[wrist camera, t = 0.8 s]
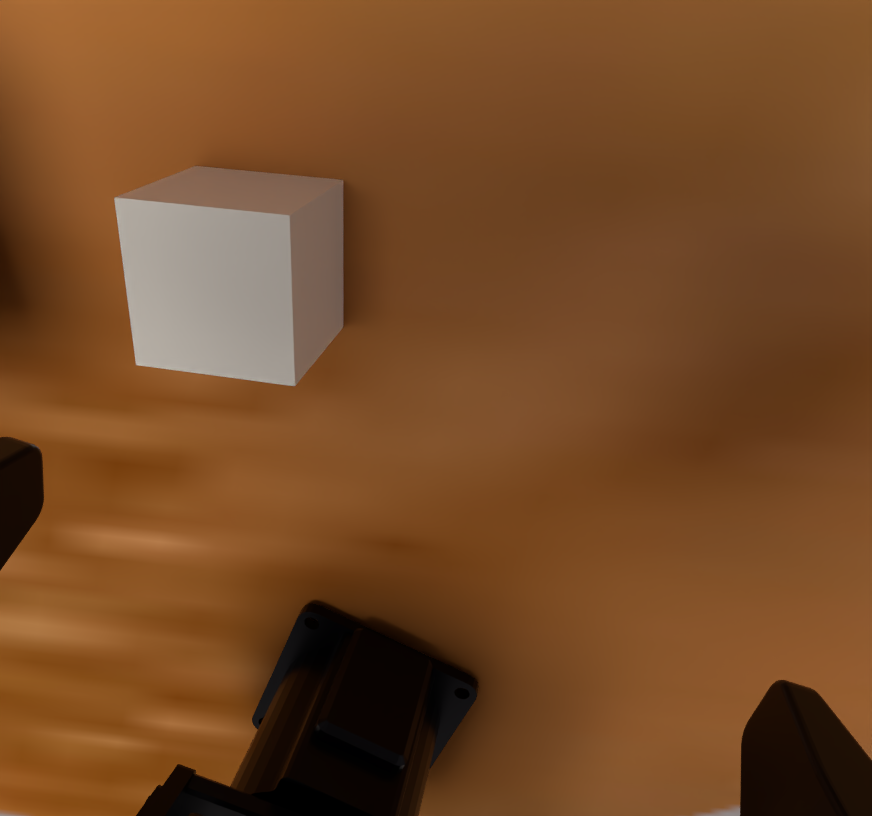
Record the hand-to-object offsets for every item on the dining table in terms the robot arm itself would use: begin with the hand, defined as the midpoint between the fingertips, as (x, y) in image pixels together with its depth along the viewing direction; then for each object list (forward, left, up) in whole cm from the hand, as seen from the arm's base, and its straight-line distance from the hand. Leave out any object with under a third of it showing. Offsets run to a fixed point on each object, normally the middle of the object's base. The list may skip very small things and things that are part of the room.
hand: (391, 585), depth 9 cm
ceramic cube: (-2, +6, -13) cm, 14 cm away
